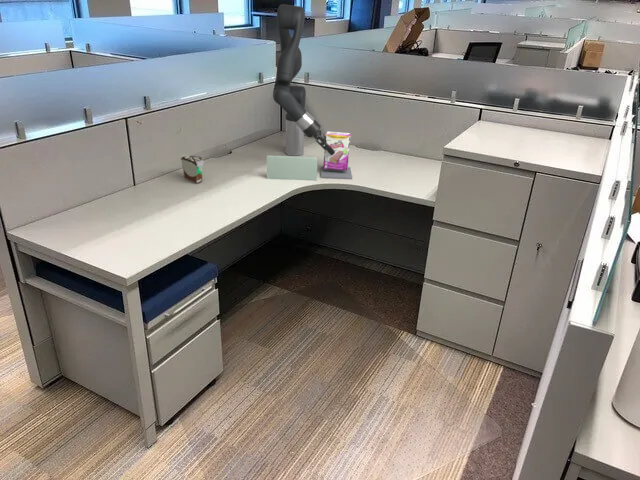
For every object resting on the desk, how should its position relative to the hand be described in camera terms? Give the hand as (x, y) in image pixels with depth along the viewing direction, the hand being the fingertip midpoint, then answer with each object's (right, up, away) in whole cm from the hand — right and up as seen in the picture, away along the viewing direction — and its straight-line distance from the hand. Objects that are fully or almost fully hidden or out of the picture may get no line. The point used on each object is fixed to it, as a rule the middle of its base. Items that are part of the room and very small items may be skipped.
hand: (333, 151), depth 227 cm
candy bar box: (+1, -7, +4) cm, 8 cm away
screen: (-18, -13, -4) cm, 23 cm away
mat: (+1, -9, +5) cm, 10 cm away
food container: (-59, -14, -9) cm, 62 cm away
